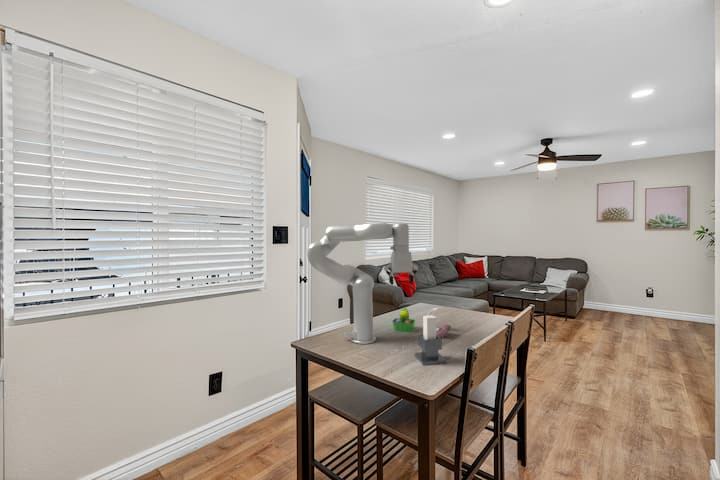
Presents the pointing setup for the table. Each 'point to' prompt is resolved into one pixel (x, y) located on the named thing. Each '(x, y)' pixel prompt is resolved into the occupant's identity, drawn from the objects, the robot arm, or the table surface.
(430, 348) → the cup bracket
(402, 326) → the fruit basket
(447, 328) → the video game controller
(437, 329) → the headphone stand
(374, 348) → the table surface
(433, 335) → the rail post
